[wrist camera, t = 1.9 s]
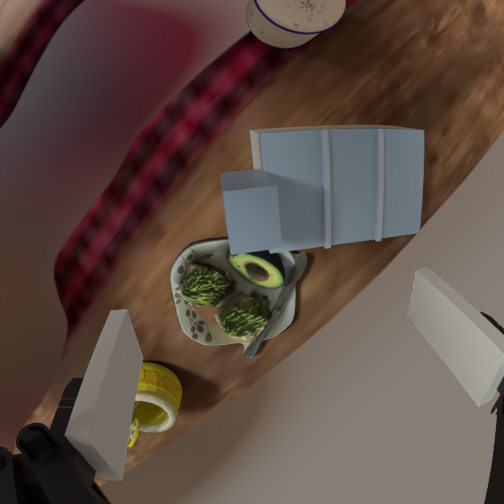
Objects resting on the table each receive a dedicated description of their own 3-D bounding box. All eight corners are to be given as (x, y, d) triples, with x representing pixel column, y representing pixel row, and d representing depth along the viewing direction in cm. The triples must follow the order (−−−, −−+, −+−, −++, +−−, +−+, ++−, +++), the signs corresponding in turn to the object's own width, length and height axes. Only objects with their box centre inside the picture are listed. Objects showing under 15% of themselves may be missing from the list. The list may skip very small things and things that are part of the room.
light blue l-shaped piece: (215, 136, 30) (217, 143, 22) (414, 128, 31) (464, 137, 23) (229, 250, 35) (235, 293, 27) (410, 227, 36) (453, 256, 28)
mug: (166, 349, 47) (158, 409, 36) (192, 394, 51) (191, 451, 40) (97, 364, 47) (80, 419, 36) (128, 405, 51) (119, 458, 40)
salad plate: (298, 345, 50) (305, 364, 45) (185, 355, 48) (183, 376, 44) (305, 229, 42) (315, 242, 38) (165, 238, 40) (160, 253, 36)
